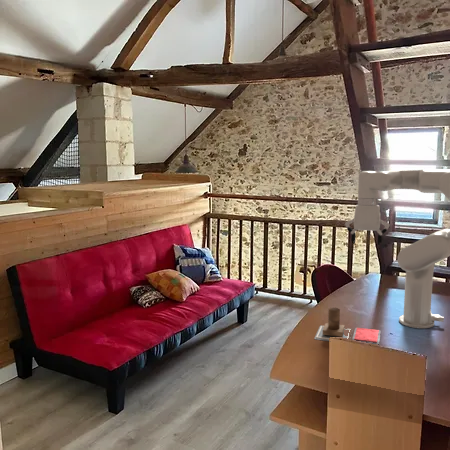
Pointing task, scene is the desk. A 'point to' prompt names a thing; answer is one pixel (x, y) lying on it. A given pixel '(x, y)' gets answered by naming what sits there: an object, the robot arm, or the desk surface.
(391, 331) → the desk surface
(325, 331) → the stamp
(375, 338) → the ink pad
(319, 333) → the board
